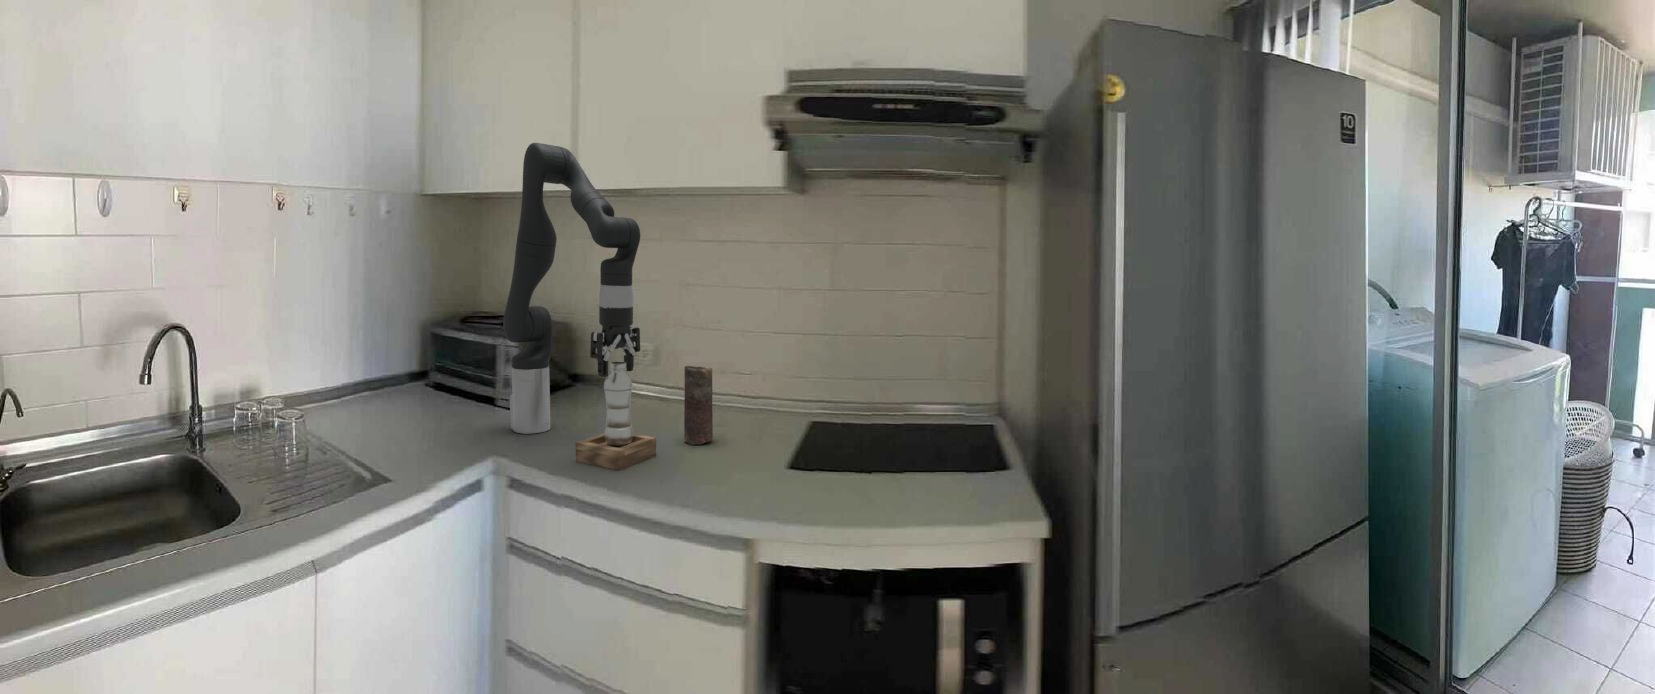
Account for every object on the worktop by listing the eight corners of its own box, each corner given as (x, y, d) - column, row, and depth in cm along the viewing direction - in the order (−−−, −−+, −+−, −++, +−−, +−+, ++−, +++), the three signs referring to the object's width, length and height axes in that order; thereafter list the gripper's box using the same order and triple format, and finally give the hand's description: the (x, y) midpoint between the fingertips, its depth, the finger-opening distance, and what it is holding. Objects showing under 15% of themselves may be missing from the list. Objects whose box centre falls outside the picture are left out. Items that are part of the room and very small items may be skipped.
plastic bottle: (625, 450, 163) (624, 365, 160) (598, 447, 164) (597, 363, 162) (638, 442, 169) (638, 361, 167) (612, 440, 171) (611, 359, 168)
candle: (681, 438, 185) (681, 364, 182) (708, 436, 188) (709, 363, 185) (687, 446, 178) (688, 369, 175) (715, 444, 181) (716, 368, 178)
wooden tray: (575, 461, 163) (575, 442, 163) (614, 447, 175) (613, 430, 174) (619, 470, 158) (619, 451, 157) (656, 455, 170) (656, 437, 169)
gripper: (624, 301, 169) (624, 367, 172) (581, 305, 156) (581, 376, 159) (649, 304, 166) (648, 371, 168) (607, 308, 153) (607, 380, 156)
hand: (616, 373), depth 164 cm, fingers open, 8 cm apart
